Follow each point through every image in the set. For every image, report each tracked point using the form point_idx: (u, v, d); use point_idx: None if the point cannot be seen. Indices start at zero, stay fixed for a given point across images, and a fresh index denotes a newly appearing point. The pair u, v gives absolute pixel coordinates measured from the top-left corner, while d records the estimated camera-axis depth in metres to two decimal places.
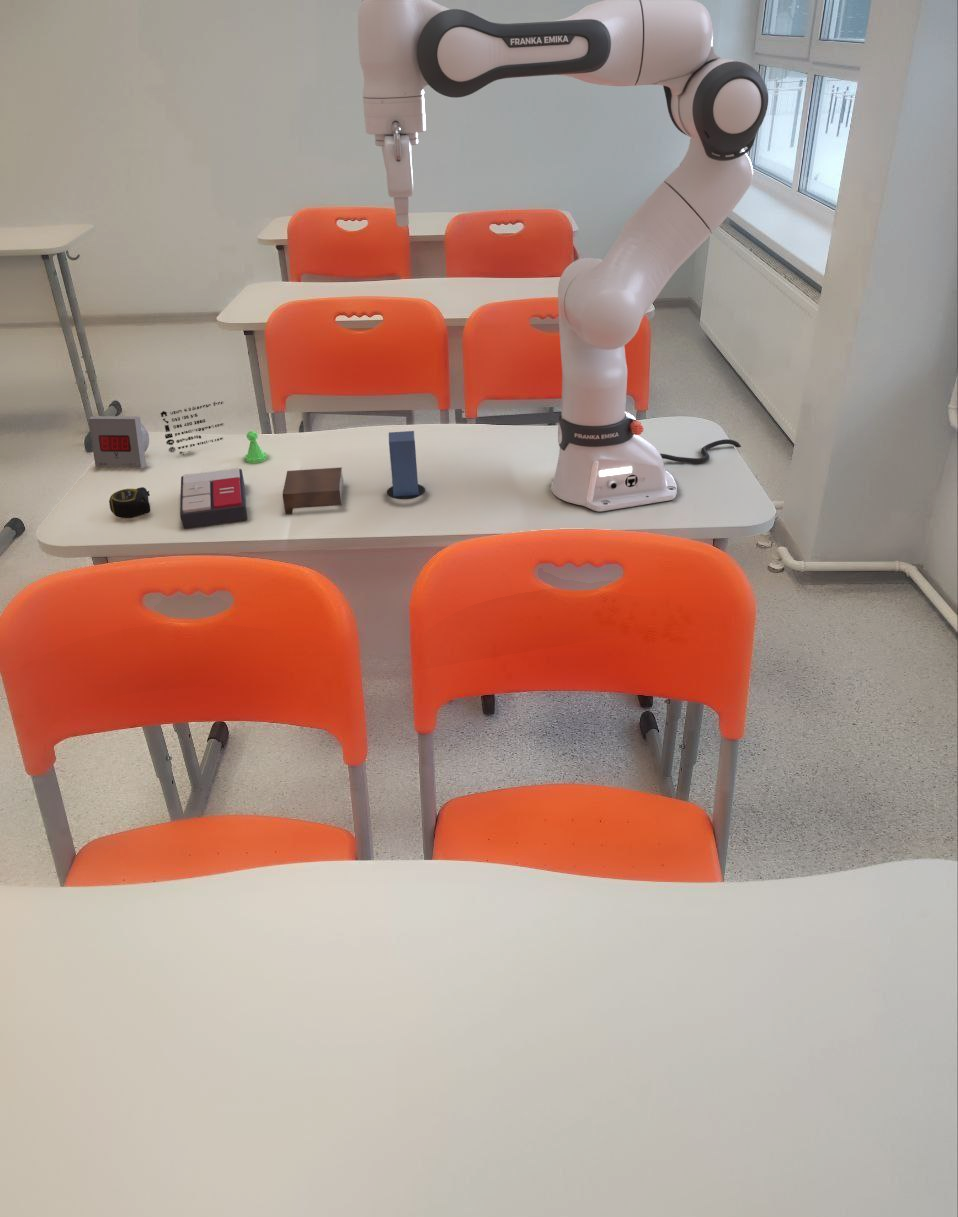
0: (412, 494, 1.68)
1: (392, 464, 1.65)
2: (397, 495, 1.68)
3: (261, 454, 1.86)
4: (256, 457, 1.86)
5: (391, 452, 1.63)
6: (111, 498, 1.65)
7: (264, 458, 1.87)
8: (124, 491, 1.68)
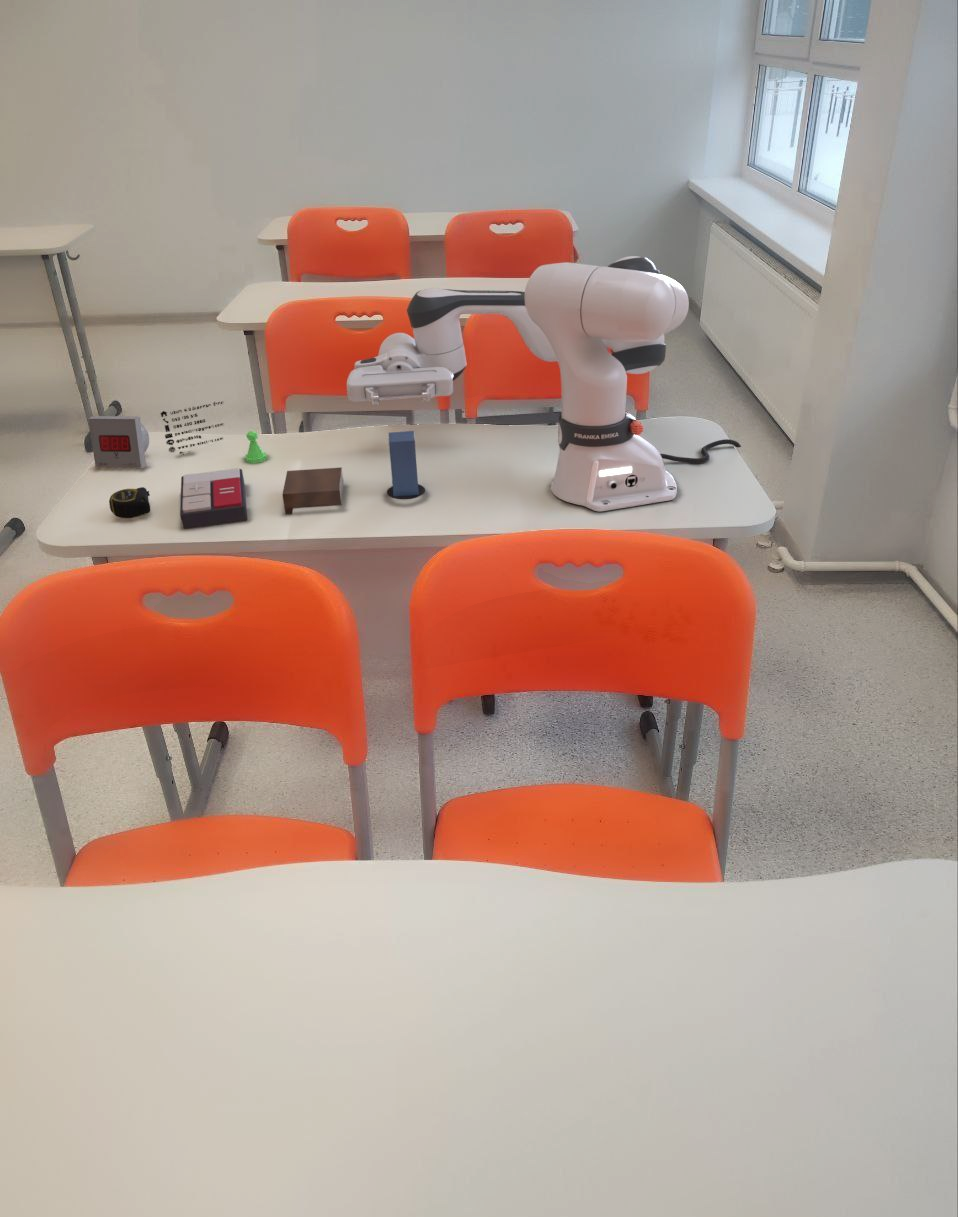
0: (412, 494, 1.68)
1: (392, 464, 1.65)
2: (397, 495, 1.68)
3: (261, 454, 1.86)
4: (256, 457, 1.86)
5: (391, 452, 1.63)
6: (111, 498, 1.65)
7: (264, 458, 1.87)
8: (124, 491, 1.68)
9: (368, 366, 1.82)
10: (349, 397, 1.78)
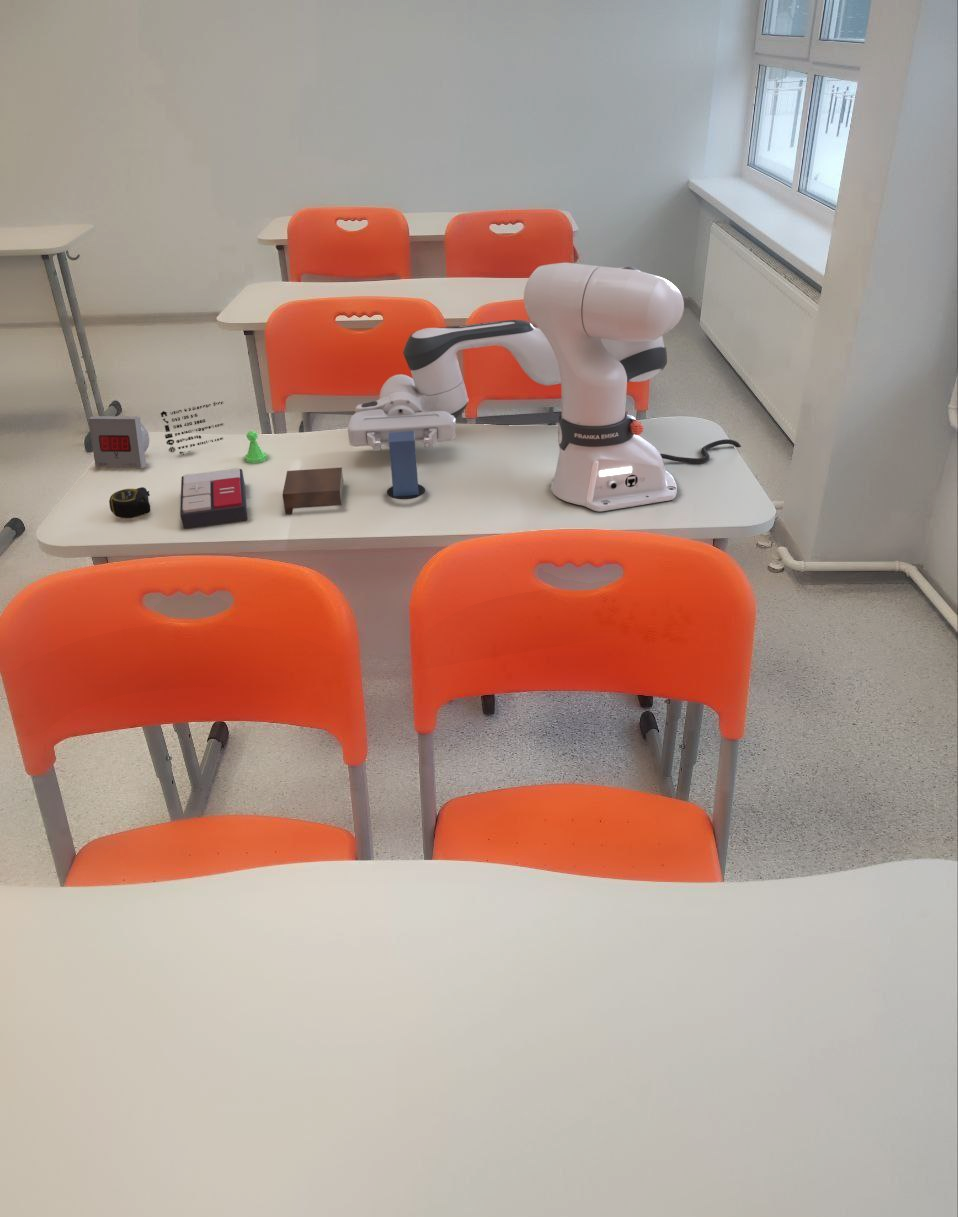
0: (412, 494, 1.68)
1: (392, 464, 1.65)
2: (397, 495, 1.68)
3: (261, 454, 1.86)
4: (256, 457, 1.86)
5: (391, 452, 1.63)
6: (111, 498, 1.65)
7: (264, 458, 1.87)
8: (124, 491, 1.68)
9: (369, 410, 1.80)
10: (350, 441, 1.76)
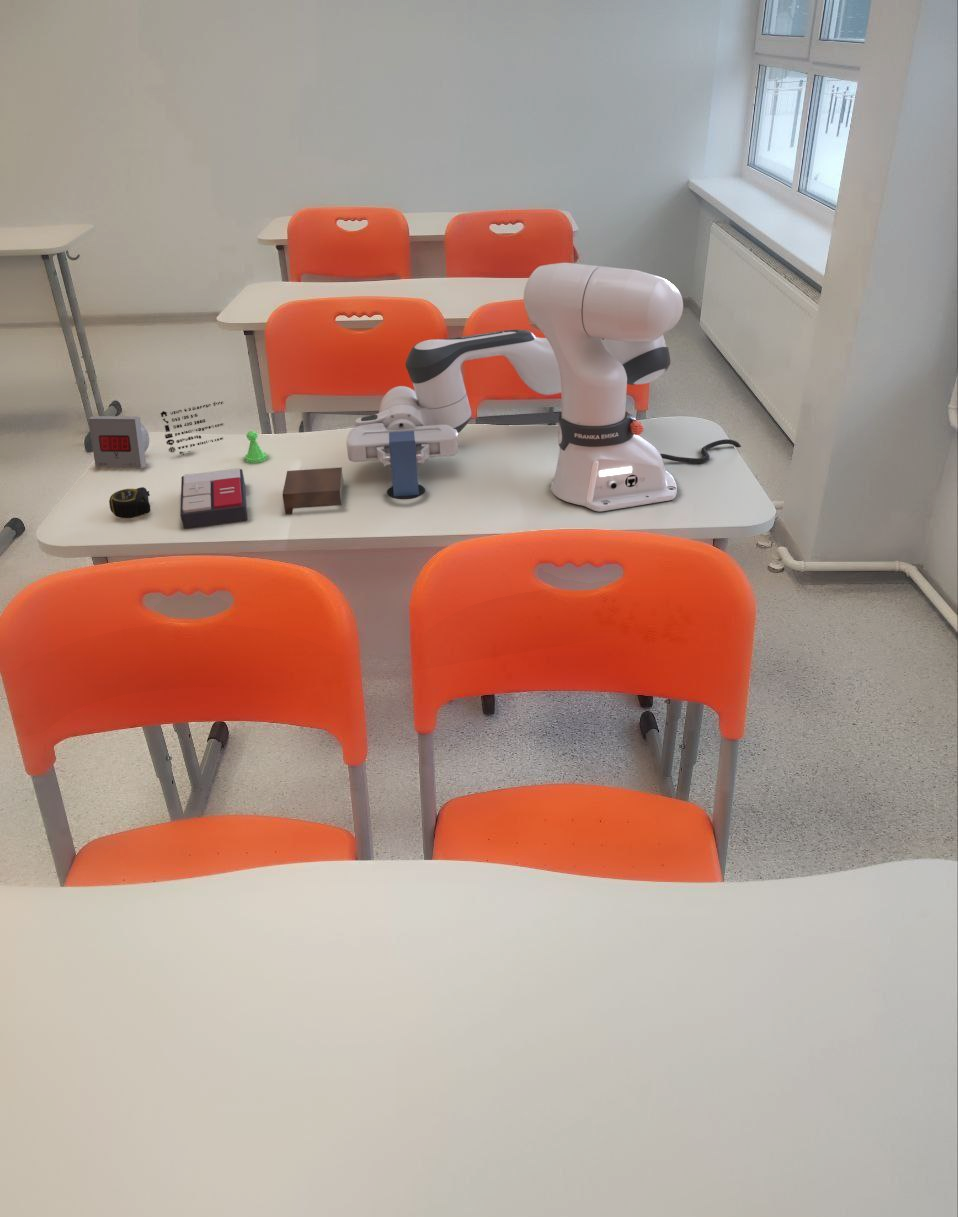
0: (412, 494, 1.68)
1: (392, 464, 1.65)
2: (397, 495, 1.68)
3: (261, 454, 1.86)
4: (256, 457, 1.86)
5: (391, 452, 1.63)
6: (111, 498, 1.65)
7: (264, 458, 1.87)
8: (124, 491, 1.68)
9: (369, 424, 1.74)
10: (349, 457, 1.70)
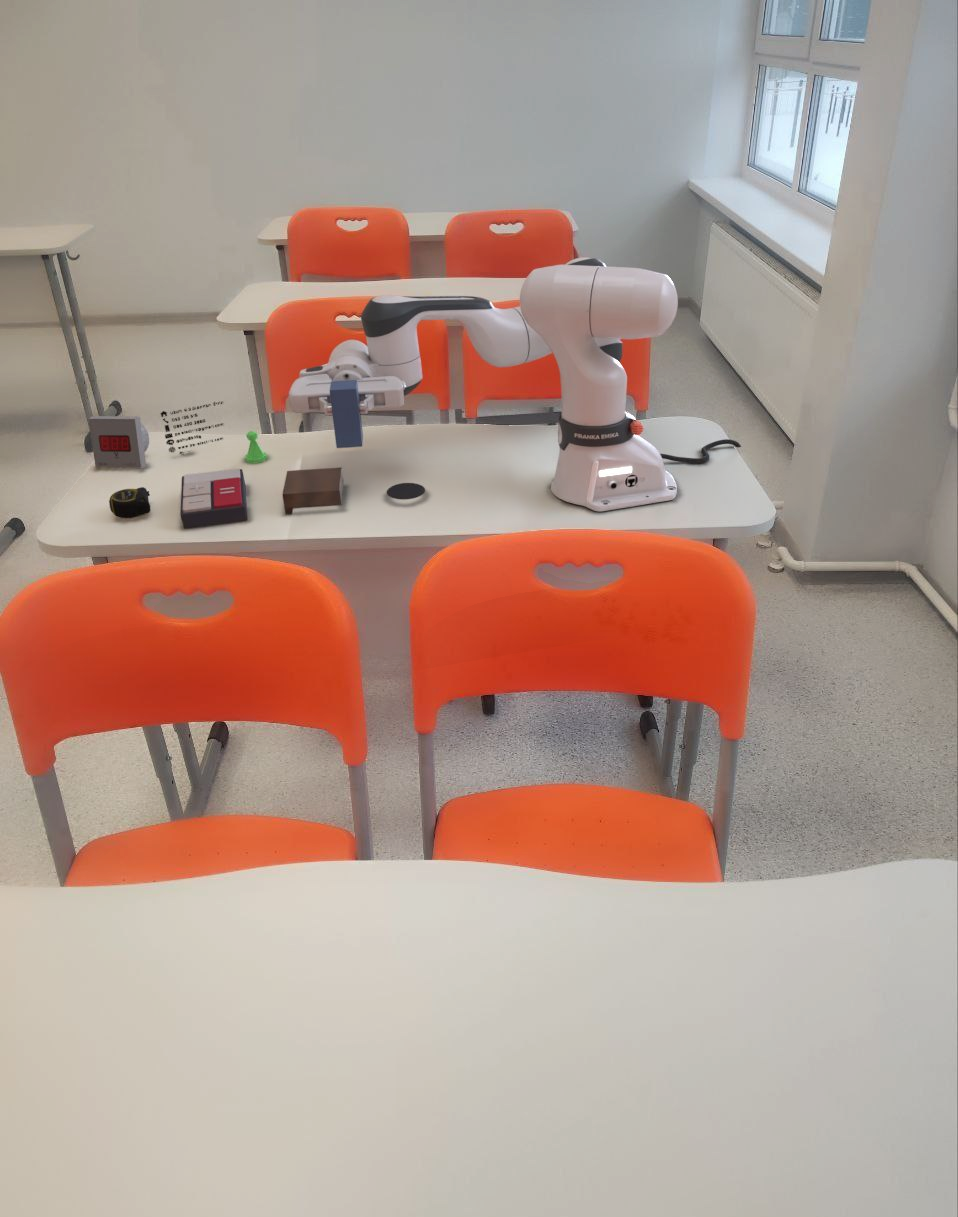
0: (355, 445, 1.63)
1: (334, 414, 1.60)
2: (340, 446, 1.63)
3: (261, 454, 1.86)
4: (256, 457, 1.86)
5: (332, 401, 1.59)
6: (111, 498, 1.65)
7: (264, 458, 1.87)
8: (124, 491, 1.68)
9: (314, 375, 1.69)
10: (292, 408, 1.65)
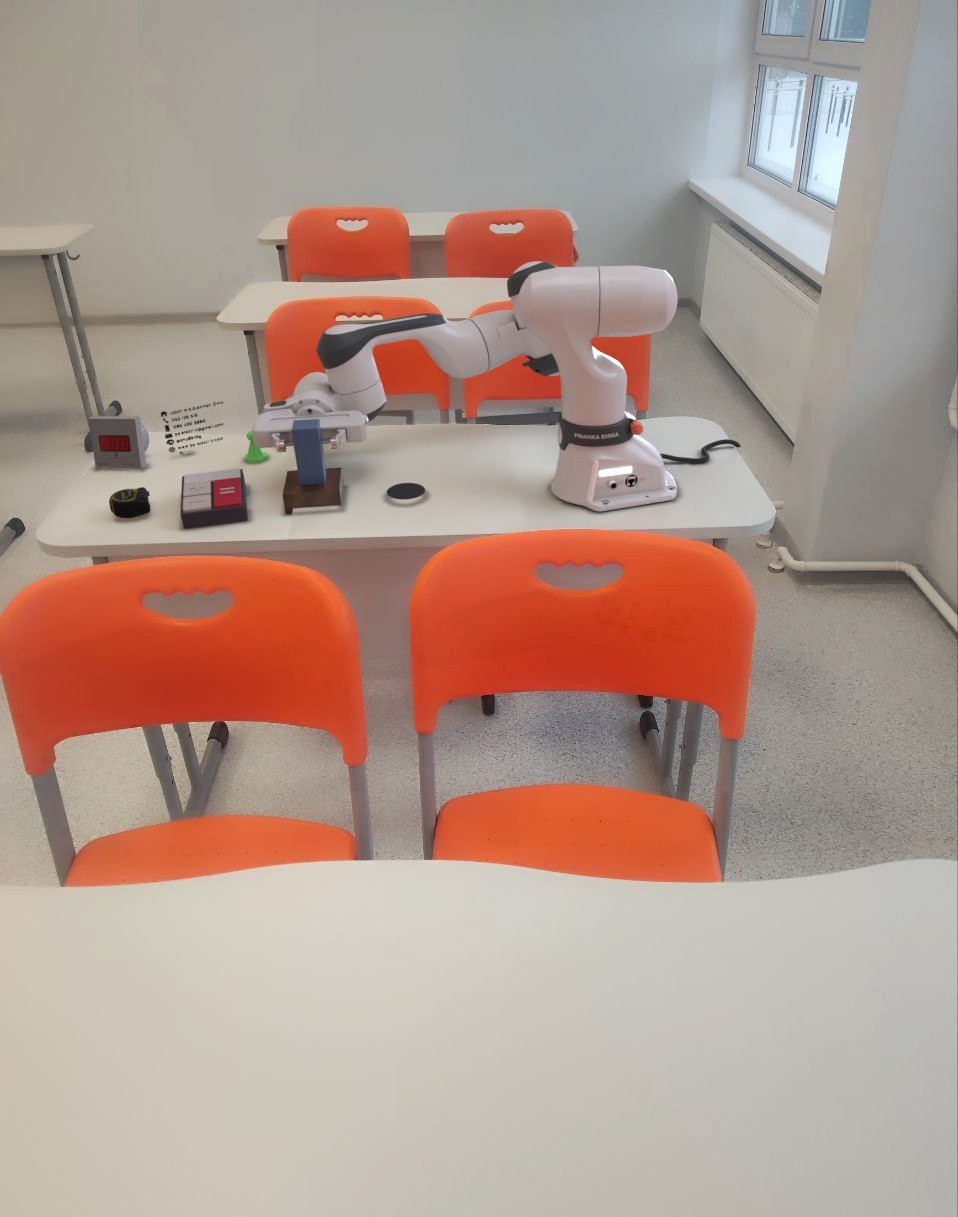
0: (318, 483, 1.67)
1: (296, 452, 1.63)
2: (303, 483, 1.67)
3: (261, 454, 1.86)
4: (256, 457, 1.86)
5: (294, 440, 1.62)
6: (111, 498, 1.65)
7: (264, 458, 1.87)
8: (124, 491, 1.68)
9: (277, 410, 1.72)
10: (255, 443, 1.68)
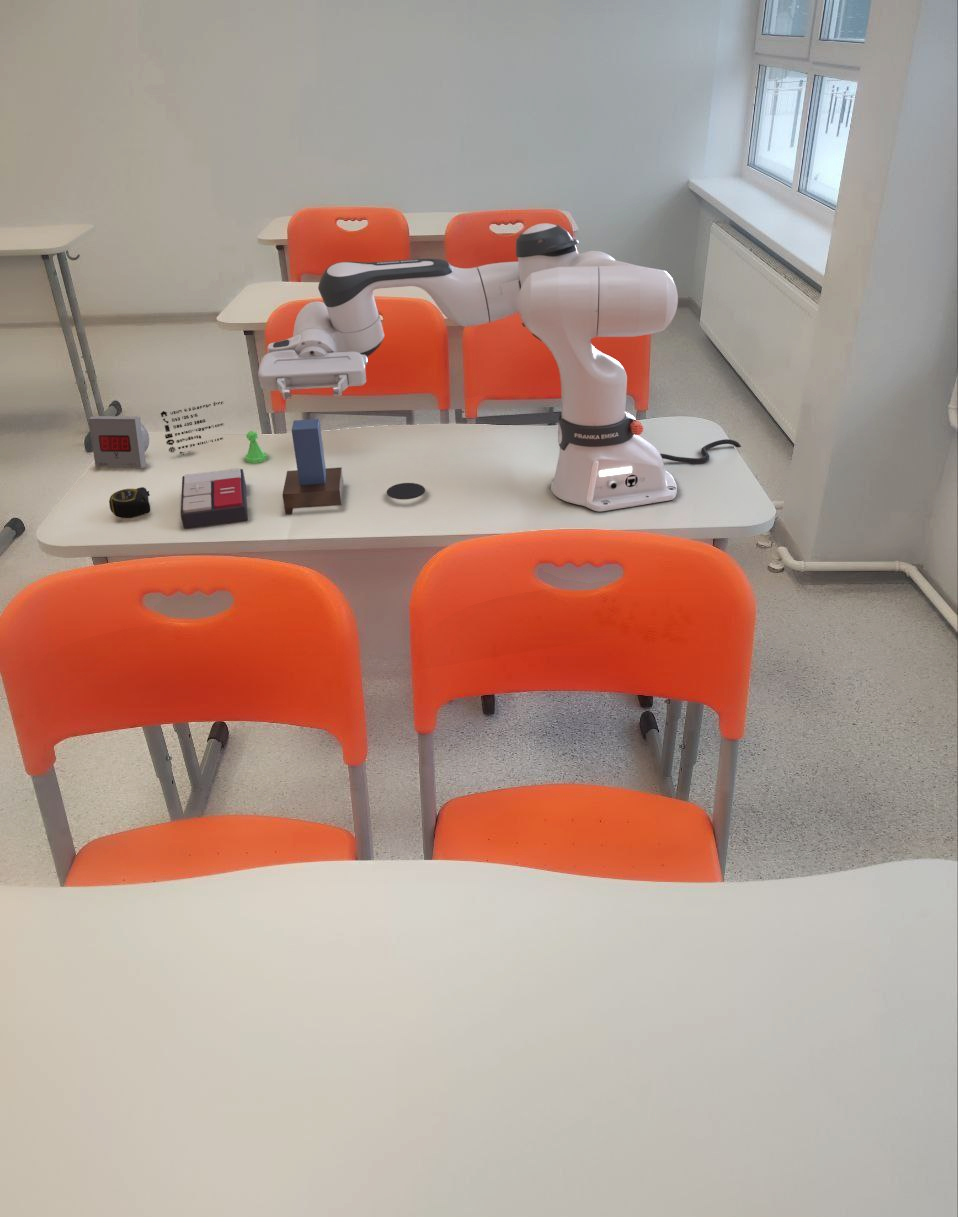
0: (318, 483, 1.67)
1: (296, 452, 1.63)
2: (303, 483, 1.67)
3: (261, 454, 1.86)
4: (256, 457, 1.86)
5: (294, 440, 1.62)
6: (111, 498, 1.65)
7: (264, 458, 1.87)
8: (124, 491, 1.68)
9: (281, 351, 1.80)
10: (261, 386, 1.78)
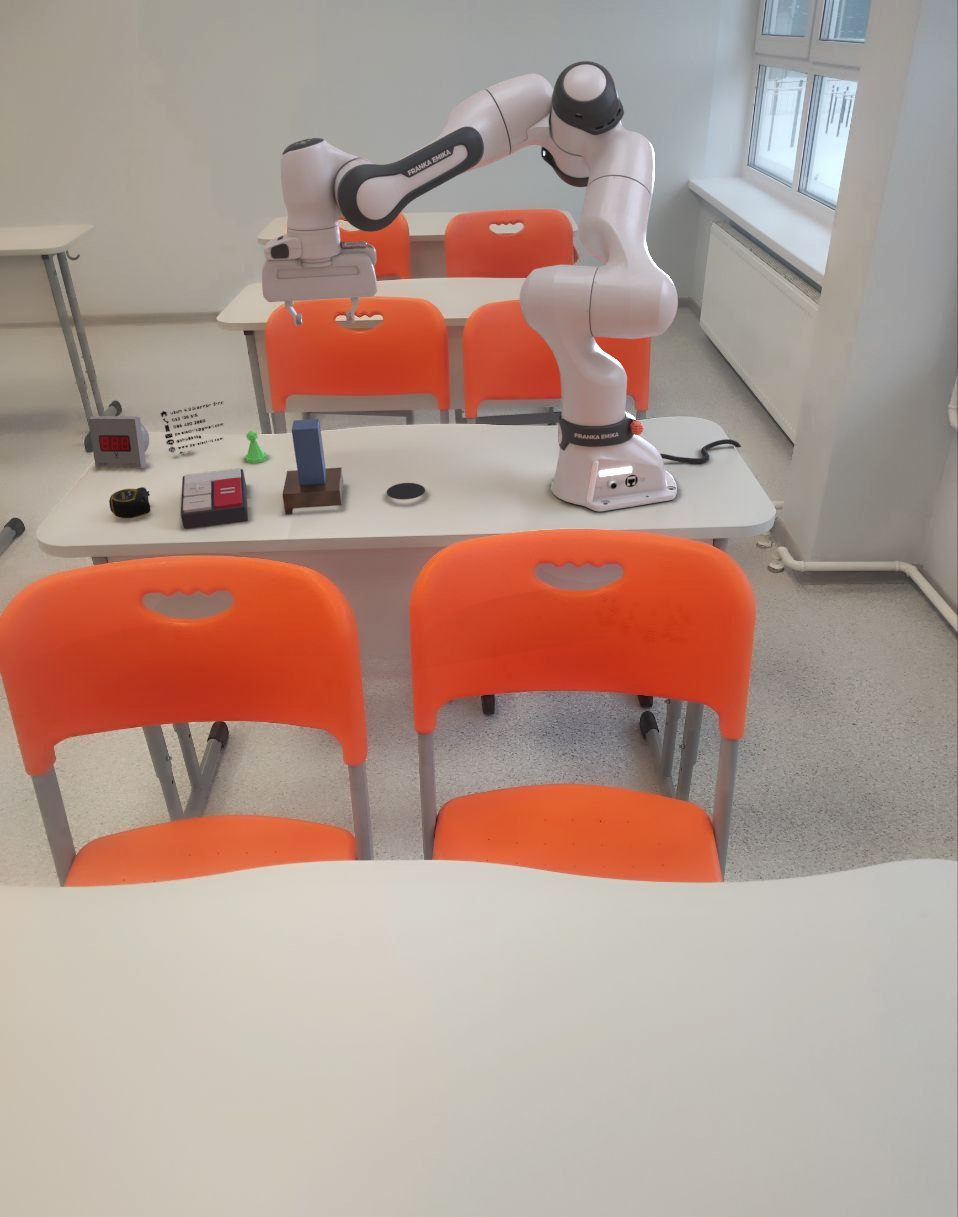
0: (318, 483, 1.67)
1: (296, 452, 1.63)
2: (303, 483, 1.67)
3: (261, 454, 1.86)
4: (256, 457, 1.86)
5: (294, 440, 1.62)
6: (111, 498, 1.65)
7: (264, 458, 1.87)
8: (124, 491, 1.68)
9: (281, 262, 1.62)
10: None
